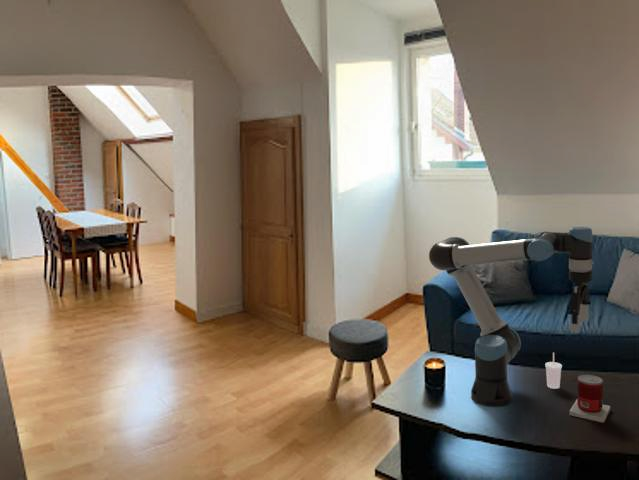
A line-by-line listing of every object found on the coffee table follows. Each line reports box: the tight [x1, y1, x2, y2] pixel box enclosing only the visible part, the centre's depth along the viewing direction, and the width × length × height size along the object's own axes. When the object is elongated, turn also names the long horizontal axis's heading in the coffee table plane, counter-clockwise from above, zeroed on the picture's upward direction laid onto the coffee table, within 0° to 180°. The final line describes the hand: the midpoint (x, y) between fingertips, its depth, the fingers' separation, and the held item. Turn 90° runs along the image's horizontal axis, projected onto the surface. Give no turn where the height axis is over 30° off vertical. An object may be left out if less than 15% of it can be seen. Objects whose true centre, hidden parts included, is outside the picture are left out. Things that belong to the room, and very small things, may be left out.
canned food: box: [576, 374, 604, 413], centre depth 193 cm, size 8×8×11 cm
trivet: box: [569, 398, 611, 424], centre depth 194 cm, size 11×11×2 cm
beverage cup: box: [544, 352, 563, 390], centre depth 215 cm, size 6×6×14 cm
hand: (579, 326), depth 199 cm, fingers open, 13 cm apart
